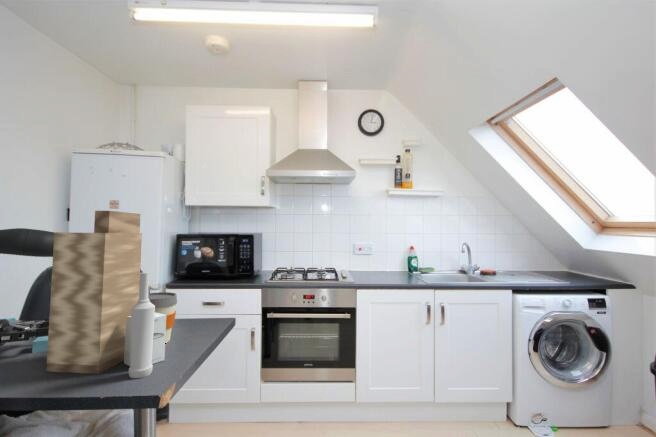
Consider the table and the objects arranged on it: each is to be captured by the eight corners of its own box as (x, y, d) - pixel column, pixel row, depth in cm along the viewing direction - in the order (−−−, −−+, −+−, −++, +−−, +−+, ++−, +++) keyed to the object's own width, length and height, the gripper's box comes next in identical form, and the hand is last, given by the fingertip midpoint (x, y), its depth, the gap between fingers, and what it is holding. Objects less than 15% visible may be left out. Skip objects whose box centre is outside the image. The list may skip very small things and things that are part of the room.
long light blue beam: (25, 352, 92) (61, 303, 96) (30, 346, 96) (64, 300, 100) (105, 377, 101) (134, 332, 105) (107, 371, 105) (135, 328, 109)
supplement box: (137, 370, 81) (139, 320, 82) (123, 363, 85) (125, 316, 86) (165, 360, 87) (167, 314, 88) (150, 355, 91) (152, 310, 92)
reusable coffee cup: (182, 342, 102) (183, 295, 103) (138, 353, 93) (140, 301, 94) (167, 334, 111) (168, 290, 112) (125, 342, 102) (127, 295, 102)
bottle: (135, 370, 81) (139, 271, 83) (156, 369, 82) (160, 271, 83) (123, 379, 76) (128, 274, 78) (146, 378, 77) (150, 274, 78)
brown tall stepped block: (46, 371, 80) (55, 210, 82) (91, 351, 94) (98, 214, 96) (98, 373, 79) (106, 210, 81) (136, 353, 93) (142, 214, 95)
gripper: (-30, 327, 83) (50, 320, 91) (-6, 315, 96) (63, 310, 104) (-32, 356, 83) (49, 347, 91) (-8, 340, 96) (61, 333, 103)
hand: (56, 327), depth 97 cm, fingers open, 8 cm apart
